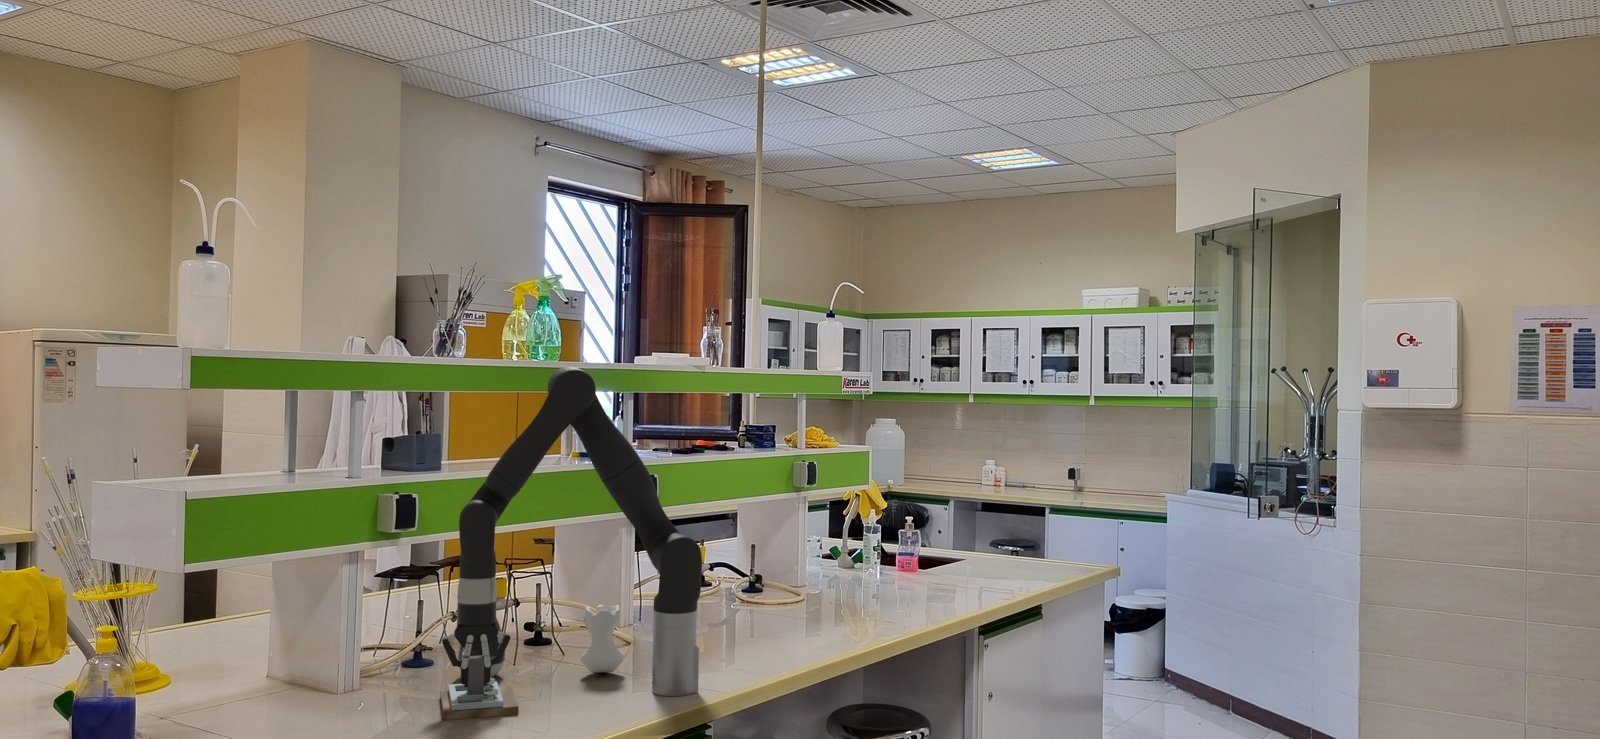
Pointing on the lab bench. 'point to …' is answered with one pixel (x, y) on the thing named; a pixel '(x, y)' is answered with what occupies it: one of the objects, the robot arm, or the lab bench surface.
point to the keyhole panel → (473, 705)
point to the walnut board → (507, 708)
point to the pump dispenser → (492, 650)
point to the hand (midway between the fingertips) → (475, 685)
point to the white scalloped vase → (602, 639)
